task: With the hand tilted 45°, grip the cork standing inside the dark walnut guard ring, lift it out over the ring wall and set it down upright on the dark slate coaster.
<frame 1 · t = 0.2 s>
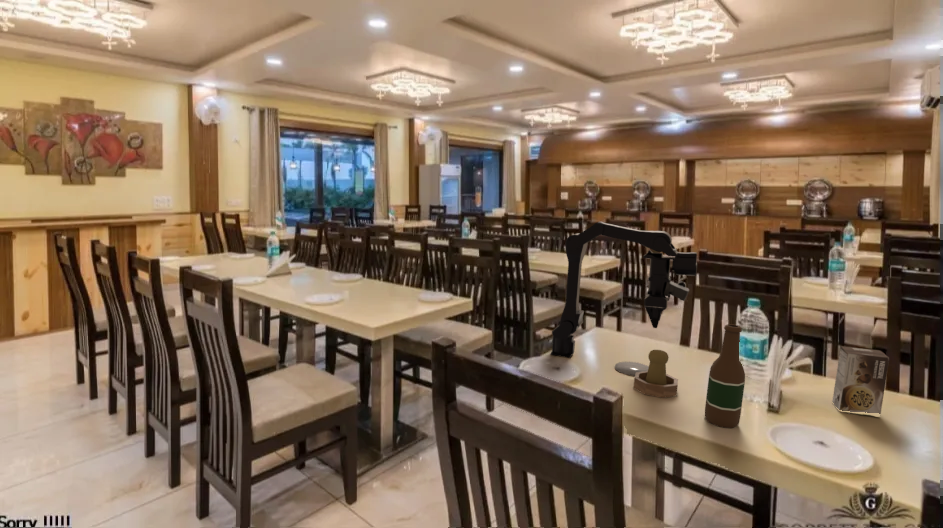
hand: (656, 324, 159), 14 cm above the table, tool pointing down, fingers open, 9 cm apart
slate coaster: (633, 369, 160), on the table
guard ring: (655, 388, 146), on the table
cork: (655, 389, 146), resting in guard ring
beer bottle: (721, 422, 127), on the table
coffee box: (854, 411, 137), on the table
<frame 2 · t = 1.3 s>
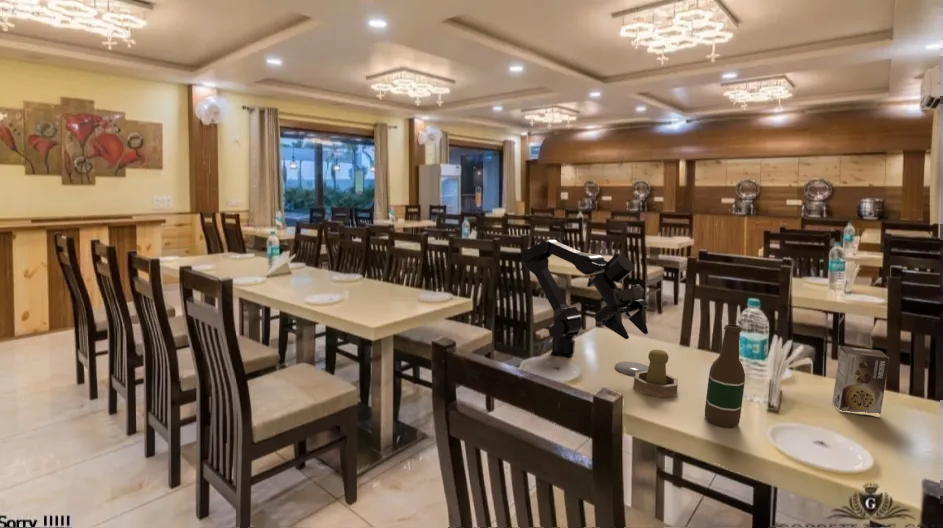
hand: (637, 336, 149), 13 cm above the table, tool tilted 45°, fingers open, 9 cm apart
nothing on the table moved.
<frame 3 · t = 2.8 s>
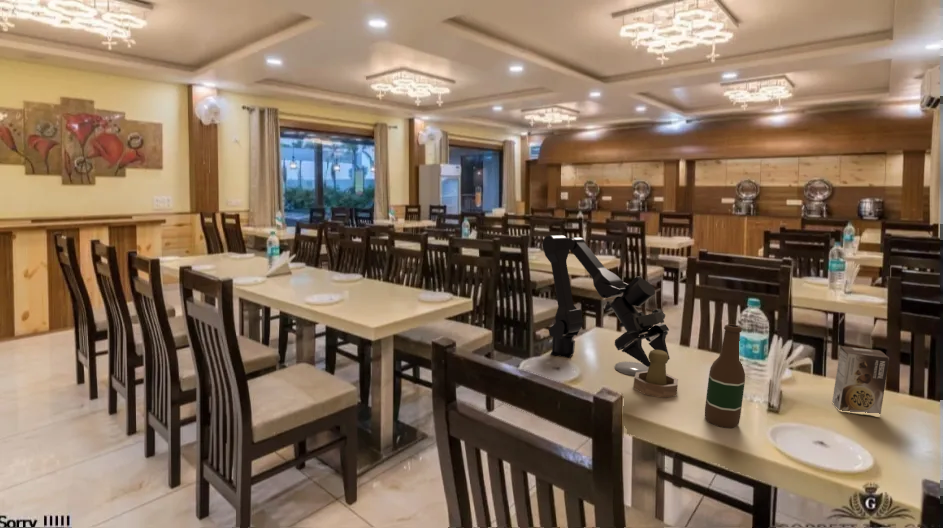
hand: (659, 362, 144), 8 cm above the table, tool tilted 45°, fingers open, 9 cm apart
nothing on the table moved.
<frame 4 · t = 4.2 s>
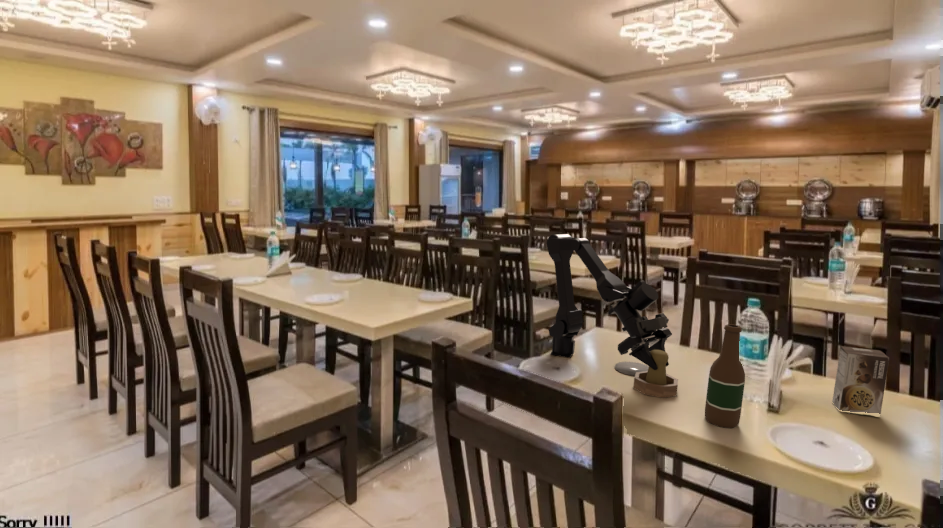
hand: (662, 367, 144), 7 cm above the table, tool tilted 45°, fingers closed on cork, 5 cm apart
cork: (655, 389, 146), resting in guard ring, touching gripper
everything else where it was.
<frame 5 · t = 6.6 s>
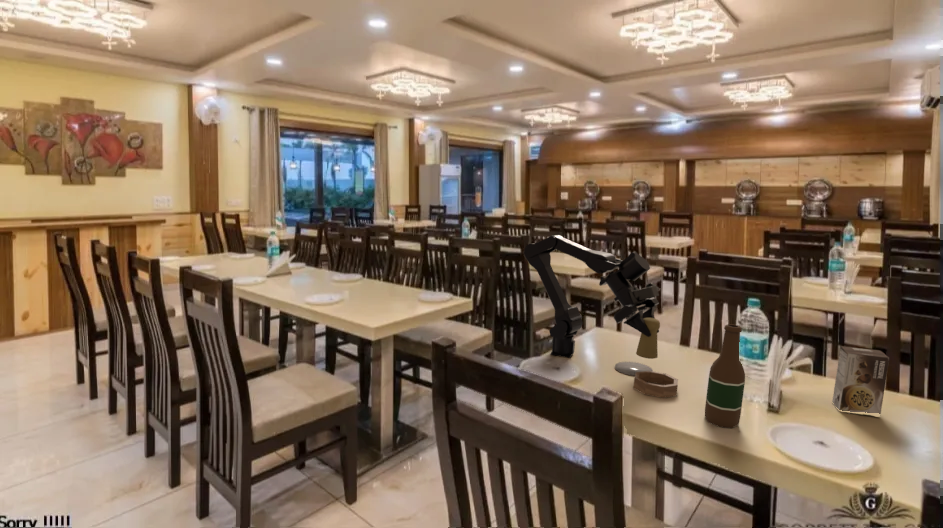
hand: (653, 334, 151), 14 cm above the table, tool tilted 45°, fingers closed on cork, 5 cm apart
cork: (646, 355, 153), point 7 cm above the table, touching gripper
everything else where it was.
when the fingers open (8 cm above the table, at t = 9.2 s): cork drops 1 cm, resting on slate coaster.
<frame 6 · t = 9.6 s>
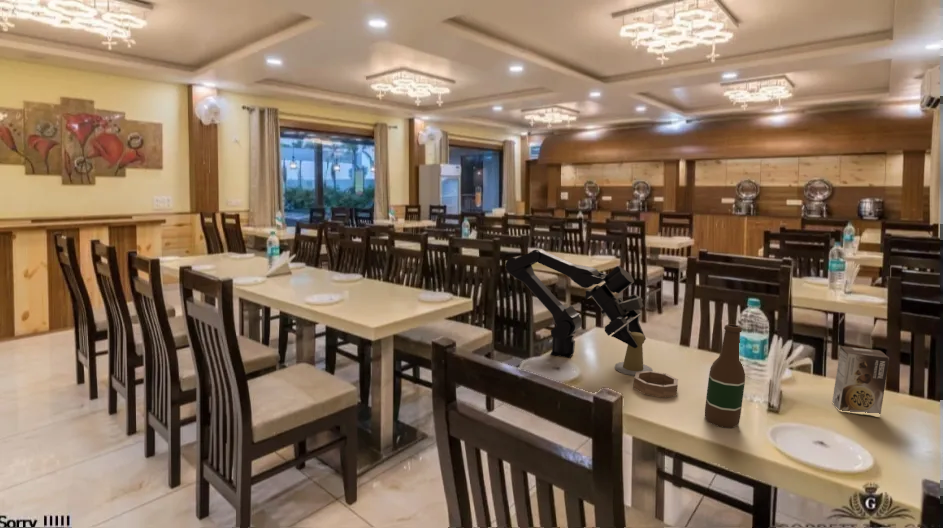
hand: (640, 343, 158), 9 cm above the table, tool tilted 45°, fingers open, 9 cm apart
cork: (633, 368, 160), resting on slate coaster
everything else where it was.
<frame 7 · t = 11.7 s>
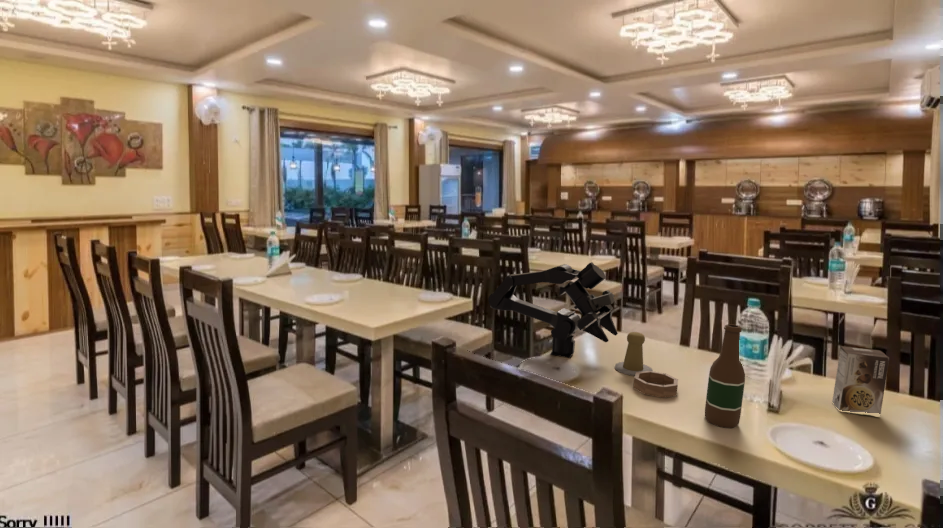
hand: (612, 338, 163), 9 cm above the table, tool tilted 45°, fingers open, 9 cm apart
nothing on the table moved.
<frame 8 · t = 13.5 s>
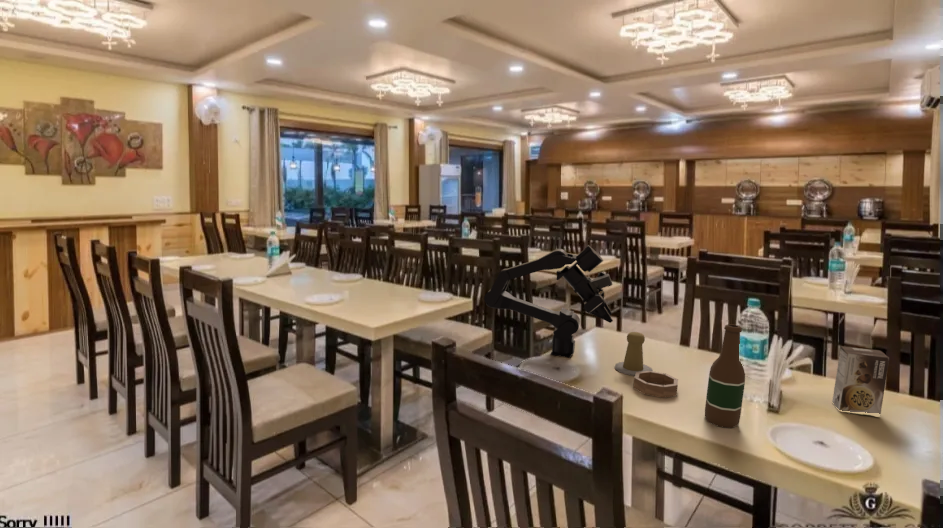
hand: (611, 318, 167), 14 cm above the table, tool tilted 45°, fingers open, 9 cm apart
nothing on the table moved.
at the end: cork 0.2 cm from the slate coaster (horizontally); cork tilted 0°; the gripper is holding nothing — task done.
